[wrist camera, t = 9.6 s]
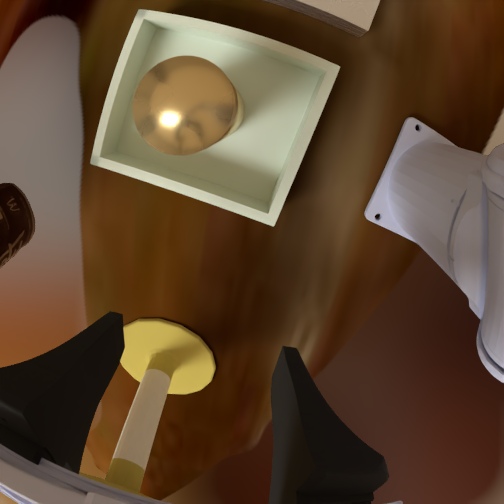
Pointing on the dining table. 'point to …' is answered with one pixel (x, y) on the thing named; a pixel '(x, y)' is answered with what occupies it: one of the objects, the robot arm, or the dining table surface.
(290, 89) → the tray
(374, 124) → the dining table surface
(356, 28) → the block
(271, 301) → the dining table surface
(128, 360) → the candle
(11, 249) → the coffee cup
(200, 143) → the pin
